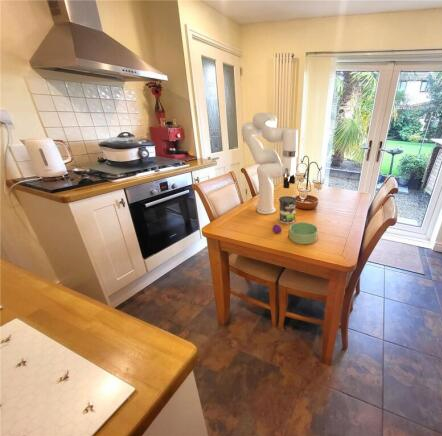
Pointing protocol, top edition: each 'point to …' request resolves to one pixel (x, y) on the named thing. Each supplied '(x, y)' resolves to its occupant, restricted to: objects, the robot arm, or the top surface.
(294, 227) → the bowl
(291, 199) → the coffee can
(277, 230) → the ball
